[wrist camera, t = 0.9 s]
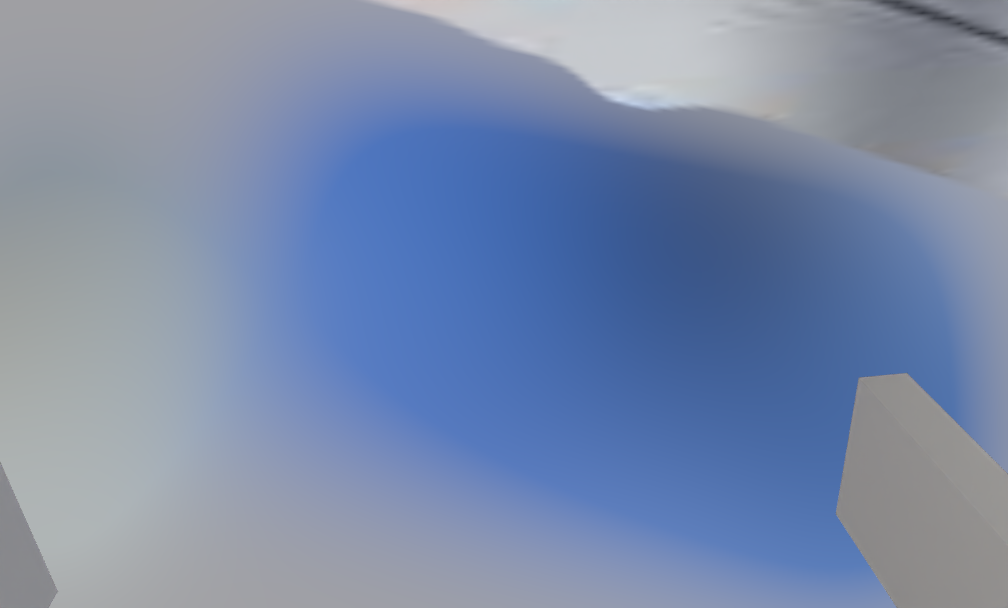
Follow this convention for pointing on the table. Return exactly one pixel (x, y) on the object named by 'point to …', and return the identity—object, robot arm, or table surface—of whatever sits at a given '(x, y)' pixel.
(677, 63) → the table surface
